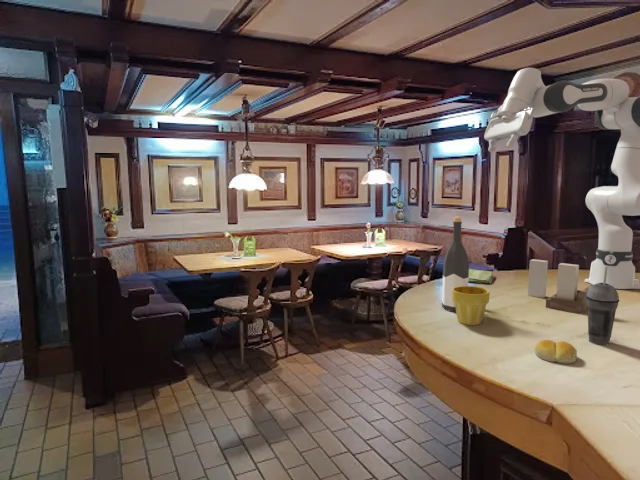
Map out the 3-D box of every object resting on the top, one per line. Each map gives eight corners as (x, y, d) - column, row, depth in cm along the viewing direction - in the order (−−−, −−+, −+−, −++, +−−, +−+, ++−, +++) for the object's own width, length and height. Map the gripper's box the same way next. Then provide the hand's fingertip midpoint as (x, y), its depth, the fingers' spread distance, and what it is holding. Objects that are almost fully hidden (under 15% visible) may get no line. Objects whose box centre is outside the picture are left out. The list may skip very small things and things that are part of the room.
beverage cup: (611, 338, 119) (617, 264, 116) (619, 348, 112) (626, 269, 109) (579, 335, 121) (585, 262, 118) (586, 345, 114) (592, 268, 111)
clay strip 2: (558, 305, 144) (561, 263, 142) (575, 308, 141) (579, 265, 139) (555, 307, 142) (558, 264, 140) (573, 310, 139) (576, 266, 137)
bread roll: (536, 348, 113) (537, 333, 112) (577, 355, 108) (578, 339, 107) (531, 359, 106) (532, 343, 105) (575, 367, 101) (576, 350, 101)
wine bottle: (468, 306, 149) (472, 216, 145) (465, 313, 142) (469, 218, 138) (443, 303, 153) (446, 215, 149) (439, 310, 145) (442, 217, 141)
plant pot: (469, 329, 126) (471, 295, 125) (443, 319, 136) (444, 288, 134) (495, 324, 131) (497, 291, 130) (469, 314, 140) (470, 284, 139)
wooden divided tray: (560, 301, 154) (562, 280, 153) (594, 307, 148) (595, 285, 147) (545, 311, 143) (546, 288, 142) (580, 318, 136) (582, 294, 135)
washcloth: (457, 282, 186) (457, 275, 185) (464, 274, 201) (464, 267, 201) (490, 285, 180) (491, 278, 180) (495, 277, 196) (495, 270, 195)
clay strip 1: (530, 297, 160) (532, 259, 158) (545, 300, 156) (548, 260, 155) (527, 299, 158) (529, 260, 156) (542, 302, 154) (545, 262, 152)
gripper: (542, 110, 146) (527, 149, 146) (502, 122, 166) (488, 156, 165) (527, 101, 144) (511, 141, 144) (488, 114, 164) (475, 149, 164)
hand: (499, 149), depth 155 cm, fingers open, 8 cm apart
